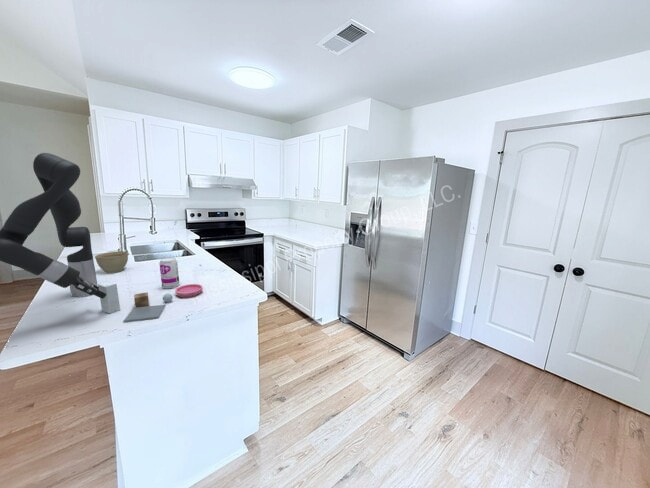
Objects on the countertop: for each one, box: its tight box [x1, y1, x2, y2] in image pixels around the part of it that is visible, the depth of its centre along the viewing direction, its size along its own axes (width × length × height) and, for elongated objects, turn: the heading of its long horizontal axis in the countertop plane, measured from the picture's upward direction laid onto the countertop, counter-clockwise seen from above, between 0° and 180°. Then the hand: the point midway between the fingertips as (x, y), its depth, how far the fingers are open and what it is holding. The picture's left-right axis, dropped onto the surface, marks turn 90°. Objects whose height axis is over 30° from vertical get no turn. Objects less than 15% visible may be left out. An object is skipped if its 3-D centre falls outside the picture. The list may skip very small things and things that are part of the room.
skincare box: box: [97, 281, 121, 314], centre depth 112 cm, size 6×4×12 cm
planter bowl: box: [94, 251, 129, 274], centre depth 164 cm, size 16×16×11 cm
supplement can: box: [159, 257, 180, 289], centre depth 141 cm, size 8×8×15 cm
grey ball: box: [162, 293, 174, 303], centre depth 122 cm, size 4×4×4 cm
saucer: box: [174, 283, 204, 298], centre depth 133 cm, size 12×12×3 cm
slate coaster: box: [123, 304, 166, 323], centre depth 111 cm, size 12×12×1 cm
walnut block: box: [133, 291, 150, 308], centre depth 118 cm, size 5×5×5 cm
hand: (102, 293), depth 110 cm, fingers open, 8 cm apart
